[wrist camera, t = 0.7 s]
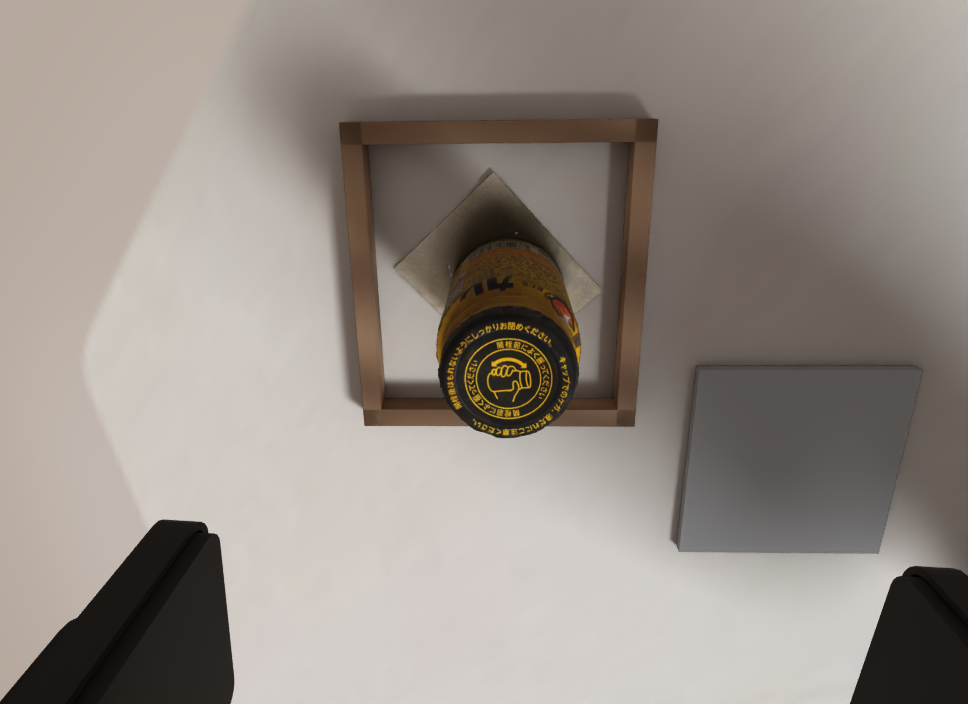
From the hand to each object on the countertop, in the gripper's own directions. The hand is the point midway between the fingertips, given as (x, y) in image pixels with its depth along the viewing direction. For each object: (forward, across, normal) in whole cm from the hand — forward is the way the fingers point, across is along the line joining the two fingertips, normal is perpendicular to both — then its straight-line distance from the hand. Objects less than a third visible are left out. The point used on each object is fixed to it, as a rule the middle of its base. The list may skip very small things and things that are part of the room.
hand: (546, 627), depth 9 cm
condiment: (+27, +1, +2) cm, 27 cm away
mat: (+27, -17, +12) cm, 34 cm away
